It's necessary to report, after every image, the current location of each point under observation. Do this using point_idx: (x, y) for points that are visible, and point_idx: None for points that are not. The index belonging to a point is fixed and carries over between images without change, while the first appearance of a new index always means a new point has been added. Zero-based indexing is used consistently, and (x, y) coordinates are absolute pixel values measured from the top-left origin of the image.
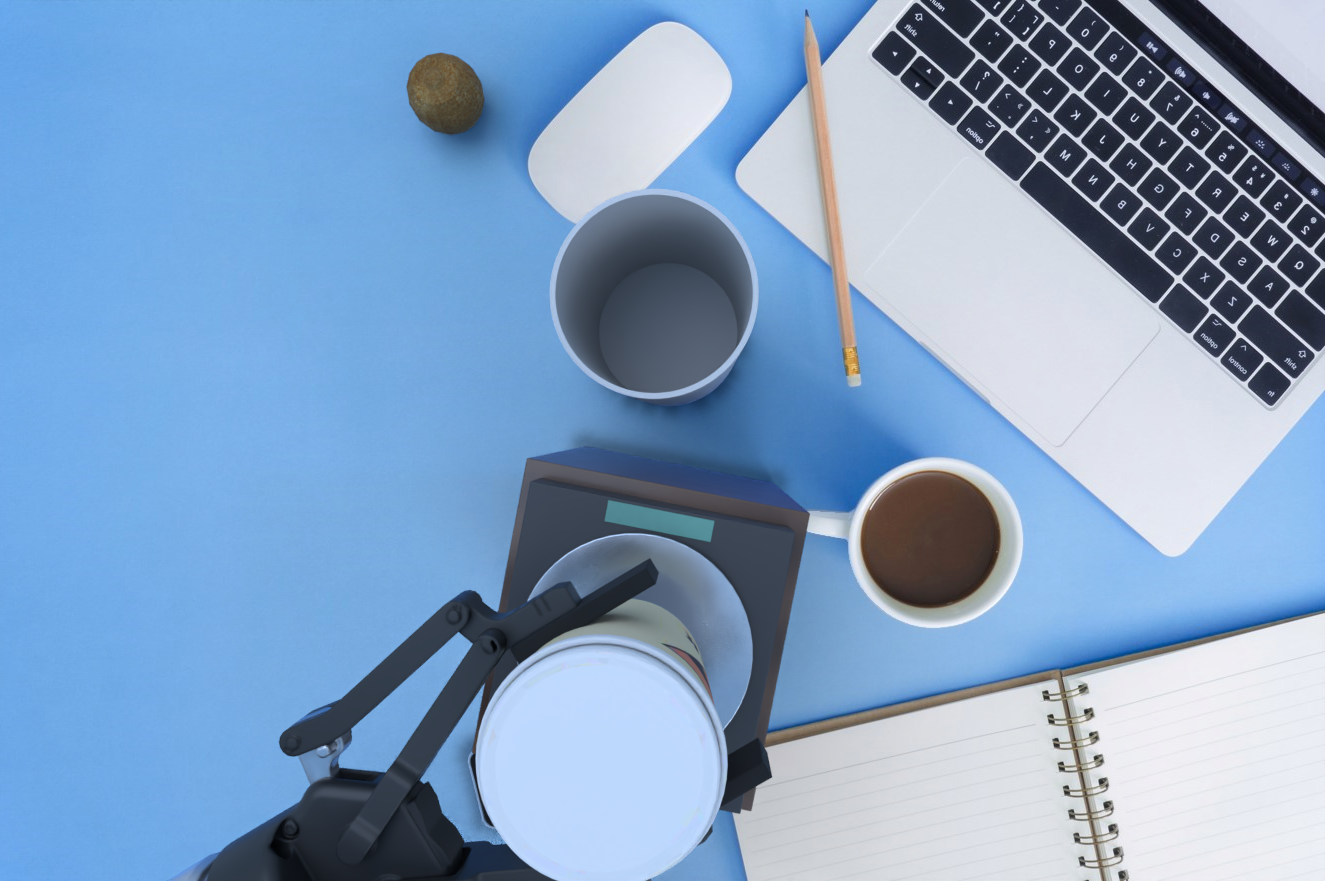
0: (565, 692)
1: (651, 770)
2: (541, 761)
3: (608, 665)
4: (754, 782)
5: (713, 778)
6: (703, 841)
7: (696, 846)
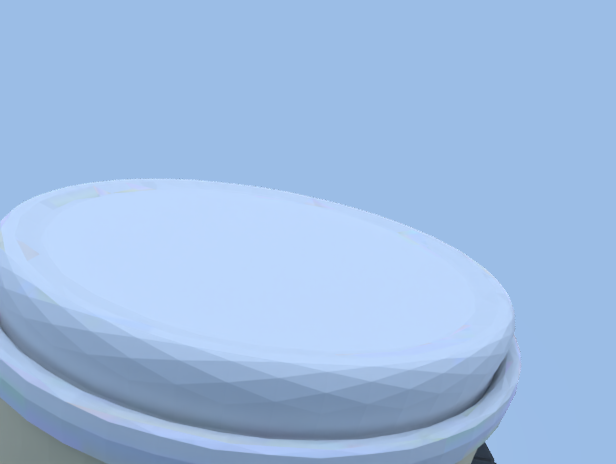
0: (130, 206)
1: (322, 226)
2: (183, 255)
3: (160, 189)
4: None
5: (368, 214)
6: (484, 444)
7: (491, 455)
